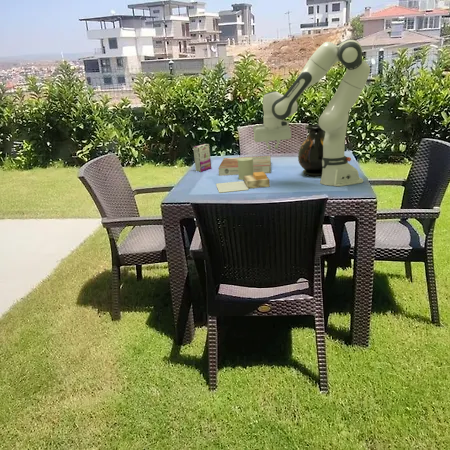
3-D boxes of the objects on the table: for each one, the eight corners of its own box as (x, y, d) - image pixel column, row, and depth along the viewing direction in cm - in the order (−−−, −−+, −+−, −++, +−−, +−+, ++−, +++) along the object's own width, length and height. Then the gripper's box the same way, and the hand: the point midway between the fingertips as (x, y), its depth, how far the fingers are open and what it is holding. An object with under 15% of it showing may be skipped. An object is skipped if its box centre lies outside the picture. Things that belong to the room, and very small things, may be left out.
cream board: (243, 181, 256) (243, 180, 256) (248, 190, 237) (248, 189, 237) (215, 184, 255) (215, 183, 255) (219, 193, 236) (219, 192, 236)
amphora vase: (336, 177, 248) (336, 127, 239) (297, 178, 253) (296, 129, 244) (335, 169, 268) (335, 122, 259) (299, 170, 273) (298, 124, 263)
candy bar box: (206, 168, 300) (203, 143, 295) (211, 168, 298) (209, 144, 292) (195, 171, 292) (192, 146, 287) (200, 172, 289) (198, 147, 284)
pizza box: (218, 168, 274) (223, 158, 304) (219, 176, 276) (224, 165, 306) (270, 165, 270) (270, 155, 300) (270, 173, 272) (270, 163, 302)
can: (240, 180, 259) (239, 160, 255) (237, 177, 267) (235, 157, 263) (255, 178, 260) (254, 158, 256) (251, 175, 269) (250, 156, 265)
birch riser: (264, 180, 254) (264, 173, 253) (269, 186, 241) (269, 179, 240) (244, 182, 253) (243, 176, 252) (247, 188, 240) (247, 181, 239)
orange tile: (263, 175, 250) (263, 171, 250) (266, 178, 242) (266, 174, 241) (253, 176, 250) (252, 172, 249) (255, 179, 241) (255, 176, 241)
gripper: (253, 125, 233) (255, 151, 238) (291, 122, 235) (292, 148, 239) (251, 124, 239) (253, 149, 244) (288, 120, 241) (289, 146, 245)
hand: (272, 148), depth 242 cm, fingers open, 3 cm apart
